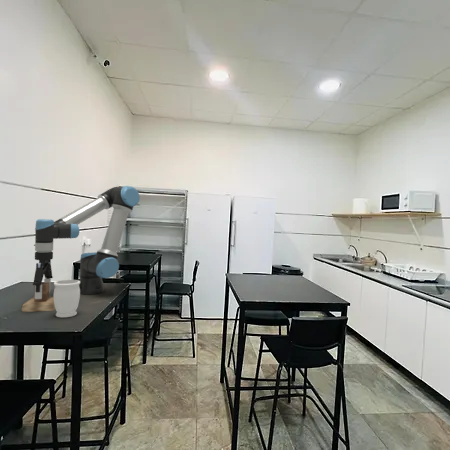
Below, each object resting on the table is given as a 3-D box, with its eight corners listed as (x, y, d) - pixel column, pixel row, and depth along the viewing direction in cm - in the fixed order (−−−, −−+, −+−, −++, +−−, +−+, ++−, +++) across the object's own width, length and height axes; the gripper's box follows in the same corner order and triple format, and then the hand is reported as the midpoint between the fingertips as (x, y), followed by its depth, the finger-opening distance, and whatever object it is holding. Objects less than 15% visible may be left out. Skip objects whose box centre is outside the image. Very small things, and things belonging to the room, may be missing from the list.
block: (49, 298, 150) (49, 282, 150) (45, 301, 145) (46, 284, 145) (37, 299, 148) (37, 282, 148) (34, 301, 144) (34, 285, 143)
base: (61, 302, 155) (61, 296, 155) (53, 310, 142) (53, 303, 142) (32, 303, 152) (32, 296, 152) (21, 311, 138) (21, 304, 138)
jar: (51, 319, 130) (52, 285, 130) (54, 312, 140) (55, 280, 139) (79, 317, 134) (79, 283, 134) (79, 310, 144) (80, 279, 144)
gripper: (43, 248, 157) (42, 289, 158) (25, 254, 133) (24, 302, 134) (59, 248, 159) (58, 288, 160) (44, 254, 135) (43, 302, 136)
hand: (42, 295), depth 147 cm, fingers open, 13 cm apart
